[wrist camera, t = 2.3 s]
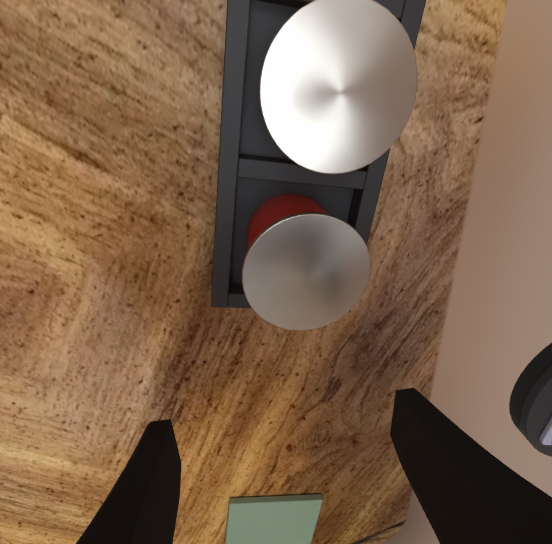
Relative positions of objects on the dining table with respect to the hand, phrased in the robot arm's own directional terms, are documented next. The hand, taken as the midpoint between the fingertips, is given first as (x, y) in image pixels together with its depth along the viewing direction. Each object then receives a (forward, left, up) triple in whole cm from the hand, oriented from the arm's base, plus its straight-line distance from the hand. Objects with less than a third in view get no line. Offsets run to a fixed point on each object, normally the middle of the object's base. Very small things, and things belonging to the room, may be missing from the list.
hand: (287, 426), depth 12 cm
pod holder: (-1, -7, -9) cm, 11 cm away
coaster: (-3, +21, -9) cm, 23 cm away
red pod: (-1, -3, -9) cm, 9 cm away
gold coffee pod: (-1, -10, -9) cm, 13 cm away
